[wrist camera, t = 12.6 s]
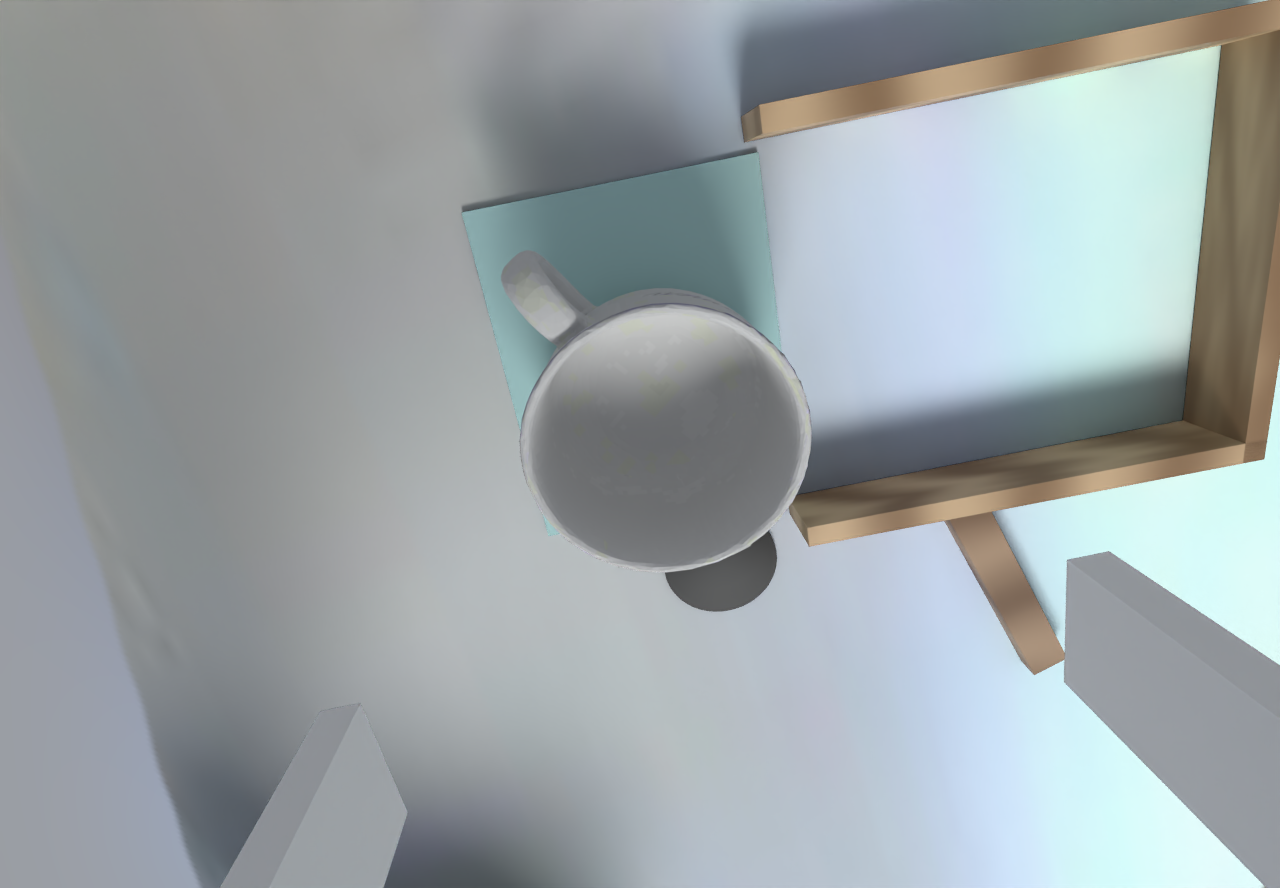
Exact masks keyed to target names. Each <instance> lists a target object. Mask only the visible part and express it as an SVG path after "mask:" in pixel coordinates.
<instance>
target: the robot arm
mask: <svg viewBox="0 0 1280 888" xmlns="http://www.w3.org/2000/svg"><path fill="white" fill-rule="evenodd" d="M1064 682H1065V683H1066V685H1067V686H1068V687H1069V688H1070V689H1071V690H1072V691H1073V692H1074V693H1075V694H1076V695H1077V696H1078V697H1079V698H1080V699H1081V700H1082V701H1083V702H1084V703H1085V704H1086V705H1087V706H1088V707H1089V708H1090V709H1091V710H1092V711H1093V712H1094V713H1095V714H1096V715H1097V716H1098V717H1099V718H1100V719H1101V720H1102V721H1103V722H1104V723H1105V724H1106V725H1107V726H1108V727H1109V728H1110V729H1111V730H1112V731H1113V732H1114V733H1115V734H1116V735H1117V736H1118V737H1119V738H1120V739H1121V740H1122V741H1123V742H1124V743H1125V744H1126V745H1127V746H1128V748H1129V749H1130V750H1131V751H1132V752H1133V753H1134V754H1135V755H1136V756H1137V757H1138V758H1139V759H1140V760H1141V761H1142V762H1143V763H1144V764H1145V765H1146V766H1147V767H1148V768H1149V769H1150V770H1151V771H1152V772H1153V773H1154V774H1155V775H1156V776H1157V777H1158V778H1159V779H1160V780H1161V781H1162V782H1163V783H1164V784H1165V785H1166V786H1167V787H1168V788H1169V789H1170V790H1171V791H1172V792H1173V793H1174V794H1175V795H1176V796H1177V797H1178V798H1179V799H1180V800H1181V801H1182V802H1183V803H1184V804H1185V805H1186V806H1187V807H1188V808H1189V809H1190V811H1191V812H1192V813H1193V814H1194V815H1195V816H1196V817H1197V818H1198V819H1199V820H1200V821H1201V822H1202V823H1203V824H1204V825H1205V826H1206V827H1207V828H1208V829H1209V830H1210V831H1211V832H1212V833H1213V834H1214V835H1215V836H1216V837H1217V838H1218V839H1219V840H1220V841H1221V842H1222V843H1223V844H1224V845H1225V846H1226V847H1227V848H1228V849H1229V850H1230V851H1231V852H1232V853H1233V854H1234V855H1235V856H1236V857H1237V858H1238V859H1239V860H1240V861H1241V862H1242V863H1243V864H1244V865H1245V866H1246V867H1247V868H1248V869H1249V870H1250V871H1251V873H1252V874H1253V875H1254V876H1255V877H1256V878H1257V879H1258V880H1259V881H1260V882H1261V883H1262V884H1263V885H1264V886H1265V887H1266V888H1280V665H1278V664H1277V663H1275V662H1274V661H1272V660H1271V659H1269V658H1268V657H1266V656H1265V655H1263V654H1262V653H1261V652H1259V651H1258V650H1256V649H1255V648H1253V647H1252V646H1250V645H1249V644H1247V643H1246V642H1244V641H1243V640H1241V639H1240V638H1238V637H1237V636H1235V635H1234V634H1232V633H1231V632H1229V631H1228V630H1226V629H1225V628H1223V627H1222V626H1220V625H1219V624H1217V623H1216V622H1214V621H1213V620H1211V619H1210V618H1208V617H1207V616H1205V615H1204V614H1202V613H1201V612H1199V611H1198V610H1196V609H1195V608H1193V607H1192V606H1190V605H1189V604H1187V603H1186V602H1184V601H1183V600H1181V599H1180V598H1178V597H1177V596H1175V595H1174V594H1172V593H1171V592H1169V591H1168V590H1166V589H1165V588H1163V587H1162V586H1160V585H1159V584H1157V583H1156V582H1154V581H1153V580H1151V579H1150V578H1148V577H1147V576H1145V575H1144V574H1142V573H1141V572H1139V571H1138V570H1136V569H1135V568H1133V567H1132V566H1130V565H1129V564H1127V563H1126V562H1124V561H1123V560H1121V559H1120V558H1118V557H1117V556H1115V555H1114V554H1112V553H1111V552H1109V551H1108V552H1103V553H1098V554H1093V555H1089V556H1084V557H1079V558H1074V559H1069V560H1067V580H1066V621H1065V662H1064ZM407 814H408V812H407V810H406V807H405V805H404V803H403V800H402V798H401V796H400V793H399V791H398V789H397V786H396V784H395V782H394V779H393V777H392V775H391V772H390V770H389V768H388V765H387V763H386V761H385V759H384V756H383V754H382V752H381V749H380V747H379V745H378V742H377V740H376V738H375V735H374V733H373V731H372V728H371V726H370V724H369V721H368V719H367V717H366V714H365V712H364V710H363V707H362V705H361V703H358V704H353V705H348V706H343V707H338V708H333V709H328V710H324V711H320V712H319V714H318V716H317V718H316V719H315V721H314V723H313V725H312V726H311V728H310V730H309V732H308V733H307V735H306V737H305V739H304V740H303V742H302V744H301V746H300V748H299V749H298V751H297V753H296V755H295V756H294V758H293V760H292V762H291V763H290V765H289V767H288V769H287V770H286V772H285V774H284V776H283V777H282V779H281V781H280V783H279V784H278V786H277V788H276V790H275V791H274V793H273V795H272V797H271V799H270V800H269V802H268V804H267V806H266V807H265V809H264V811H263V813H262V814H261V816H260V818H259V820H258V821H257V823H256V825H255V827H254V828H253V830H252V832H251V834H250V835H249V837H248V839H247V841H246V842H245V844H244V846H243V848H242V850H241V851H240V853H239V855H238V857H237V858H236V860H235V862H234V864H233V865H232V867H231V869H230V871H229V872H228V874H227V876H226V878H225V879H224V881H223V883H222V885H221V886H220V888H384V885H385V882H386V879H387V876H388V873H389V869H390V866H391V863H392V860H393V857H394V854H395V851H396V848H397V845H398V842H399V839H400V836H401V833H402V830H403V826H404V823H405V820H406V817H407Z"/></svg>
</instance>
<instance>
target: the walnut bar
mask: <svg viewBox="0 0 1280 888" xmlns="http://www.w3.org/2000/svg"><path fill="white" fill-rule="evenodd" d="M945 523H946V525H947V526H948V528H949V530H950V532H951V534H952V536H953V537H954V539H955V541H956V543H957V545H958V546H959V548H960V550H961V552H962V554H963V556H964V557H965V559H966V561H967V563H968V565H969V566H970V568H971V570H972V572H973V574H974V576H975V577H976V579H977V581H978V583H979V585H980V586H981V588H982V590H983V592H984V594H985V596H986V597H987V599H988V601H989V603H990V605H991V606H992V608H993V610H994V612H995V614H996V616H997V617H998V619H999V621H1000V623H1001V625H1002V626H1003V628H1004V630H1005V632H1006V634H1007V636H1008V637H1009V639H1010V641H1011V643H1012V645H1013V646H1014V648H1015V650H1016V652H1017V654H1018V656H1019V657H1020V659H1021V661H1022V662H1023V663H1024V664H1025V665H1026V667H1027V668H1028V669H1029V670H1030V671H1031V672H1032V673H1033V674H1034V675H1036V674H1037V673H1039V672H1041V671H1043V670H1045V669H1047V668H1049V667H1051V666H1053V665H1055V664H1057V663H1059V662H1061V661H1063V660H1065V653H1064V651H1063V649H1062V647H1061V645H1060V643H1059V641H1058V639H1057V637H1056V636H1055V634H1054V632H1053V630H1052V628H1051V626H1050V624H1049V622H1048V620H1047V618H1046V616H1045V614H1044V612H1043V610H1042V608H1041V607H1040V605H1039V603H1038V601H1037V599H1036V597H1035V595H1034V593H1033V591H1032V589H1031V587H1030V585H1029V583H1028V581H1027V579H1026V578H1025V576H1024V574H1023V572H1022V570H1021V568H1020V566H1019V564H1018V562H1017V560H1016V558H1015V556H1014V554H1013V552H1012V550H1011V549H1010V547H1009V545H1008V543H1007V541H1006V539H1005V537H1004V535H1003V533H1002V531H1001V529H1000V527H999V525H998V523H997V521H996V520H995V518H994V516H993V514H992V512H987V513H982V514H976V515H971V516H966V517H961V518H956V519H950V520H945Z"/></svg>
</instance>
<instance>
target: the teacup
mask: <svg viewBox="0 0 1280 888" xmlns="http://www.w3.org/2000/svg"><path fill="white" fill-rule="evenodd" d="M501 282H502V285H503V287H504V290H505V293H506V294H507V295H508V297H509V298H510V300H511V301H512V303H513V304H514V305H515V307H516V308H517V310H518V311H519V312H520V313H521V314H522V315H523V316H524V318H525V319H526V320H527V321H528V322H529V323H530V324H531V325H532V326H533V327H534V328H535V329H536V330H537V331H538V332H539V333H540V334H542V335H543V336H544V337H545V338H546V339H548V340H549V341H550V342H552V343H553V344H554V345H556V346H557V348H556V349H555V351H554V353H553V355H552V356H551V358H550V360H549V362H548V364H547V366H546V367H545V369H544V370H543V372H542V373H541V375H540V377H539V378H538V380H537V382H536V384H535V385H534V387H533V389H532V391H531V394H530V396H529V398H528V401H527V403H526V406H525V410H524V413H523V417H522V422H521V433H520V454H521V462H522V467H523V472H524V475H525V479H526V482H527V485H528V487H529V489H530V491H531V493H532V495H533V497H534V499H535V501H536V503H537V505H538V507H539V509H540V511H541V512H542V513H543V515H544V516H545V517H546V519H547V520H548V521H549V523H550V524H551V525H552V526H553V527H554V528H555V529H556V531H557V532H559V533H560V534H561V535H562V536H563V537H564V538H565V539H566V540H567V541H568V542H570V543H571V544H573V545H574V546H576V547H577V548H579V549H581V550H582V551H584V552H585V553H587V554H589V555H591V556H593V557H595V558H597V559H599V560H602V561H604V562H607V563H610V564H612V565H615V566H619V567H623V568H626V569H630V570H637V571H644V572H674V571H682V570H689V569H694V568H697V567H701V566H705V565H708V564H712V563H715V562H719V561H721V560H723V559H725V558H727V557H729V556H731V555H734V554H736V553H738V552H740V551H742V550H744V549H746V548H748V547H750V546H751V544H752V543H753V542H755V541H756V540H757V539H759V538H760V537H761V536H763V535H764V534H765V533H766V532H767V531H768V530H769V529H771V528H772V527H773V526H774V525H775V524H776V523H777V522H778V520H779V519H780V518H781V517H782V515H783V514H784V513H785V511H786V510H787V509H788V507H789V506H790V505H791V503H792V502H793V500H794V498H795V496H796V494H797V492H798V491H799V488H800V486H801V483H802V481H803V479H804V476H805V471H806V469H807V467H808V459H809V455H810V450H811V436H812V435H811V419H810V410H809V407H808V404H807V400H806V396H805V393H804V390H803V387H802V384H801V381H800V380H799V379H798V377H797V375H796V373H795V370H794V369H793V368H792V366H791V365H790V363H789V362H788V360H787V359H786V357H785V355H784V354H783V353H782V352H781V351H780V350H779V349H778V348H777V347H776V346H775V345H774V344H773V343H772V342H771V341H770V340H769V339H768V338H767V337H765V336H764V335H763V334H762V333H761V332H759V331H758V330H756V329H755V328H754V327H753V326H752V325H751V324H750V323H749V322H748V321H747V320H745V319H744V318H743V317H742V316H740V315H739V314H738V313H737V312H735V311H734V310H732V309H731V308H729V307H727V306H726V305H724V304H723V303H721V302H719V301H716V300H714V299H712V298H710V297H707V296H704V295H702V294H698V293H695V292H691V291H687V290H680V289H673V288H652V289H645V290H638V291H634V292H630V293H627V294H624V295H621V296H618V297H616V298H614V299H612V300H609V301H607V302H605V303H604V304H602V305H600V306H594V305H593V304H592V303H591V302H589V301H588V300H587V299H586V298H585V297H584V296H583V295H582V294H581V293H580V292H579V291H578V290H577V289H576V288H575V287H574V286H573V285H572V284H571V283H570V282H569V281H568V280H567V279H566V278H565V277H564V276H563V275H562V274H561V273H560V272H559V271H558V270H557V269H556V268H555V267H554V266H553V265H552V264H550V263H549V262H548V261H547V260H546V259H545V258H544V257H543V256H541V255H540V254H538V253H537V252H534V251H531V250H526V251H523V252H520V253H518V254H517V255H516V256H515V257H513V258H512V259H511V260H510V261H509V262H508V264H507V265H506V266H505V267H504V268H503V271H502V274H501Z"/></svg>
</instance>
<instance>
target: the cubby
mask: <svg viewBox="0 0 1280 888" xmlns="http://www.w3.org/2000/svg"><path fill="white" fill-rule="evenodd" d="M1219 45H1222V48H1221V58H1220V68H1219V77H1218V87H1217V96H1216V106H1215V116H1214V125H1213V135H1212V144H1211V154H1210V164H1209V173H1208V183H1207V193H1206V202H1205V212H1204V221H1203V231H1202V241H1201V250H1200V260H1199V269H1198V279H1197V289H1196V298H1195V308H1194V318H1193V327H1192V337H1191V346H1190V356H1189V366H1188V375H1187V385H1186V394H1185V404H1184V414H1183V420H1182V421H1177V422H1172V423H1167V424H1162V425H1156V426H1151V427H1146V428H1141V429H1136V430H1131V431H1125V432H1120V433H1115V434H1110V435H1105V436H1100V437H1094V438H1089V439H1084V440H1079V441H1074V442H1069V443H1063V444H1058V445H1053V446H1048V447H1043V448H1038V449H1032V450H1027V451H1022V452H1017V453H1012V454H1007V455H1001V456H996V457H991V458H986V459H981V460H976V461H970V462H965V463H960V464H955V465H950V466H945V467H939V468H934V469H929V470H924V471H919V472H914V473H908V474H903V475H898V476H893V477H888V478H883V479H877V480H872V481H867V482H862V483H857V484H852V485H846V486H841V487H836V488H831V489H826V490H821V491H815V492H810V493H805V494H800V495H796V496H795V498H794V500H793V502H792V503H791V505H790V506H789V511H790V515H791V517H792V518H793V520H794V522H795V523H796V525H797V527H798V528H799V530H800V532H801V533H802V535H803V537H804V538H805V540H806V542H807V543H808V545H809V547H810V546H815V545H820V544H825V543H831V542H836V541H841V540H846V539H851V538H857V537H862V536H867V535H872V534H877V533H883V532H888V531H893V530H898V529H904V528H909V527H914V526H919V525H924V524H930V523H935V522H940V521H945V520H950V519H956V518H961V517H966V516H971V515H976V514H982V513H987V512H992V511H997V510H1002V509H1008V508H1013V507H1018V506H1023V505H1028V504H1034V503H1039V502H1044V501H1049V500H1055V499H1060V498H1065V497H1070V496H1075V495H1081V494H1086V493H1091V492H1096V491H1101V490H1107V489H1112V488H1117V487H1122V486H1127V485H1133V484H1138V483H1143V482H1148V481H1153V480H1159V479H1164V478H1169V477H1174V476H1179V475H1185V474H1190V473H1195V472H1200V471H1206V470H1211V469H1216V468H1221V467H1226V466H1232V465H1237V464H1242V463H1247V462H1252V461H1258V460H1263V459H1264V457H1265V450H1266V444H1267V437H1268V431H1269V424H1270V418H1271V411H1272V405H1273V398H1274V392H1275V385H1276V378H1277V372H1278V365H1279V359H1280V0H1268V1H1263V2H1258V3H1253V4H1249V5H1244V6H1239V7H1234V8H1229V9H1224V10H1219V11H1214V12H1210V13H1205V14H1200V15H1195V16H1190V17H1185V18H1180V19H1175V20H1170V21H1166V22H1161V23H1156V24H1151V25H1146V26H1141V27H1136V28H1131V29H1127V30H1122V31H1117V32H1112V33H1107V34H1102V35H1097V36H1092V37H1088V38H1083V39H1078V40H1073V41H1068V42H1063V43H1058V44H1053V45H1049V46H1044V47H1039V48H1034V49H1029V50H1024V51H1019V52H1014V53H1009V54H1005V55H1000V56H995V57H990V58H985V59H980V60H975V61H970V62H966V63H961V64H956V65H951V66H946V67H941V68H936V69H931V70H927V71H922V72H917V73H912V74H907V75H902V76H897V77H892V78H887V79H883V80H878V81H873V82H868V83H863V84H858V85H853V86H848V87H844V88H839V89H834V90H829V91H824V92H819V93H814V94H809V95H805V96H800V97H795V98H790V99H785V100H780V101H775V102H770V103H765V104H761V105H758V106H757V107H755V108H754V109H752V110H751V111H749V112H748V113H746V114H745V115H743V116H742V117H741V120H742V128H743V136H744V142H748V141H753V140H758V139H763V138H768V137H773V136H778V135H783V134H788V133H793V132H797V131H802V130H807V129H812V128H817V127H822V126H827V125H832V124H837V123H842V122H846V121H851V120H856V119H861V118H866V117H871V116H876V115H881V114H886V113H891V112H895V111H900V110H905V109H910V108H915V107H920V106H925V105H930V104H935V103H940V102H945V101H949V100H954V99H959V98H964V97H969V96H974V95H979V94H984V93H989V92H994V91H998V90H1003V89H1008V88H1013V87H1018V86H1023V85H1028V84H1033V83H1038V82H1043V81H1047V80H1052V79H1057V78H1062V77H1067V76H1072V75H1077V74H1082V73H1087V72H1092V71H1097V70H1101V69H1106V68H1111V67H1116V66H1121V65H1126V64H1131V63H1136V62H1141V61H1146V60H1150V59H1155V58H1160V57H1165V56H1170V55H1175V54H1180V53H1185V52H1190V51H1195V50H1199V49H1204V48H1209V47H1214V46H1219Z"/></svg>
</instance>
